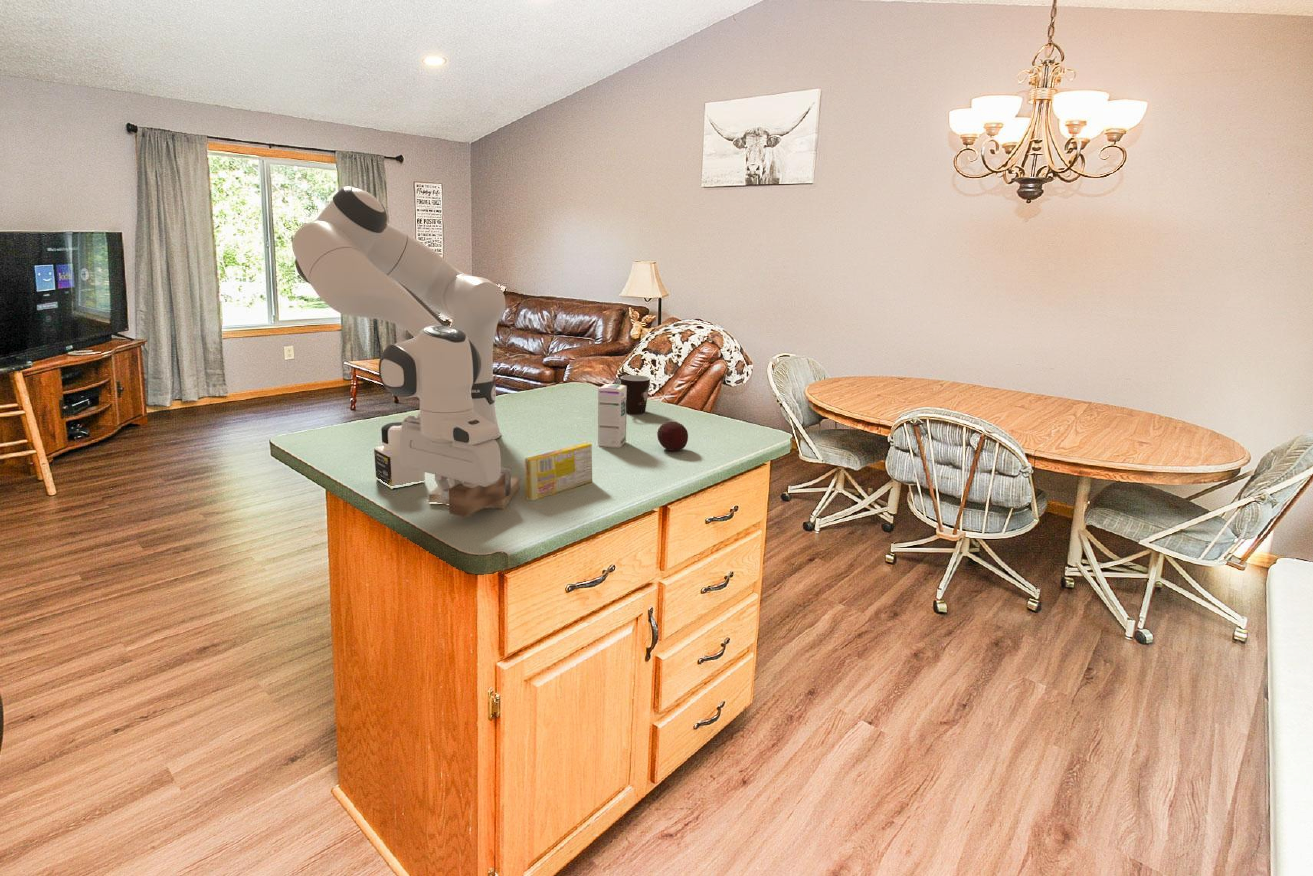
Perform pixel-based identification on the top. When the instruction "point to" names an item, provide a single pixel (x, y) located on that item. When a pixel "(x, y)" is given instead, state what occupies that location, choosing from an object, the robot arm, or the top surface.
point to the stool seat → (515, 485)
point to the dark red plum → (672, 436)
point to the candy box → (558, 470)
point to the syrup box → (612, 415)
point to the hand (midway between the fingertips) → (449, 499)
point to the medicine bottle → (393, 459)
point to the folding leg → (478, 495)
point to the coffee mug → (636, 393)
